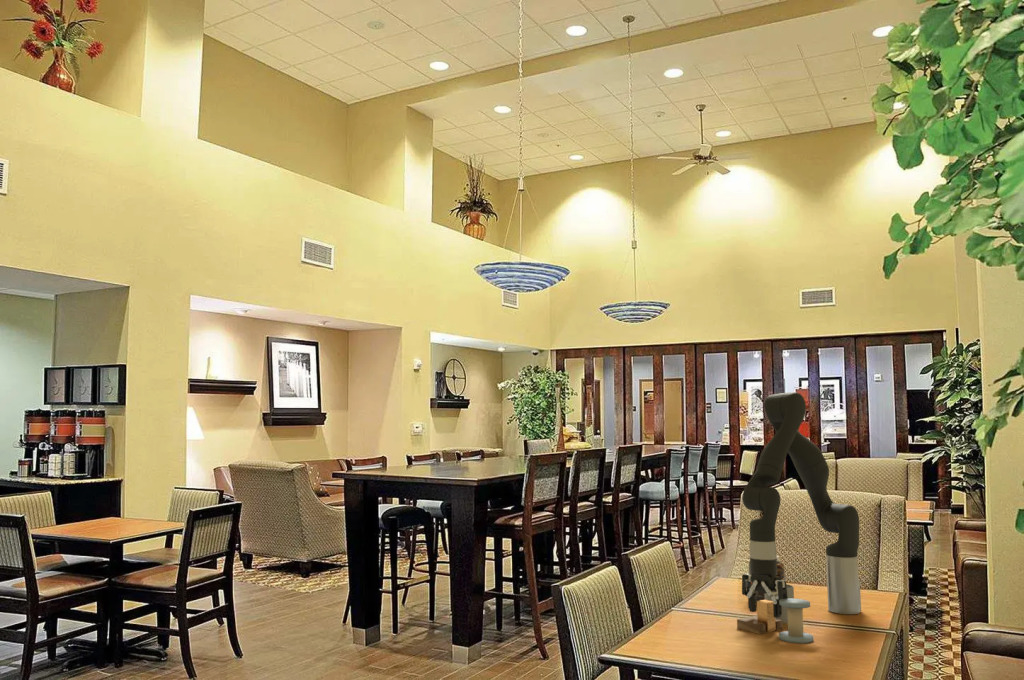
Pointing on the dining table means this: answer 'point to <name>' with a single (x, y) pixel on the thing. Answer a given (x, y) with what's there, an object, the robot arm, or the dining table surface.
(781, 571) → the jar
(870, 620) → the dining table surface
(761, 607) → the block
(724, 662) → the dining table surface
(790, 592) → the cup
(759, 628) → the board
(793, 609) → the bobbin
